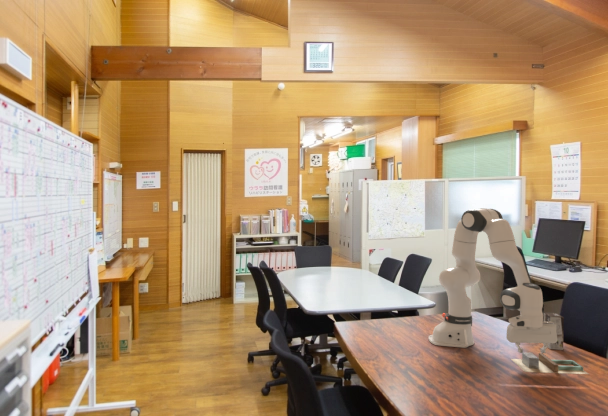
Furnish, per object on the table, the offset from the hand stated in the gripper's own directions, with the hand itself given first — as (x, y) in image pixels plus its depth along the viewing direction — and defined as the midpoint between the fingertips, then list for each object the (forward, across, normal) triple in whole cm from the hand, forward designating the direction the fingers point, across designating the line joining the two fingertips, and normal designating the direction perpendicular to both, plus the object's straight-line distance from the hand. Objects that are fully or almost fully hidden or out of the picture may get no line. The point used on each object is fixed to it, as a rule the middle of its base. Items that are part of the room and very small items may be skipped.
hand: (531, 352), depth 187 cm
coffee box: (+7, -23, -30) cm, 38 cm away
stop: (+6, 0, 0) cm, 6 cm away
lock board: (+7, -7, 0) cm, 10 cm away
